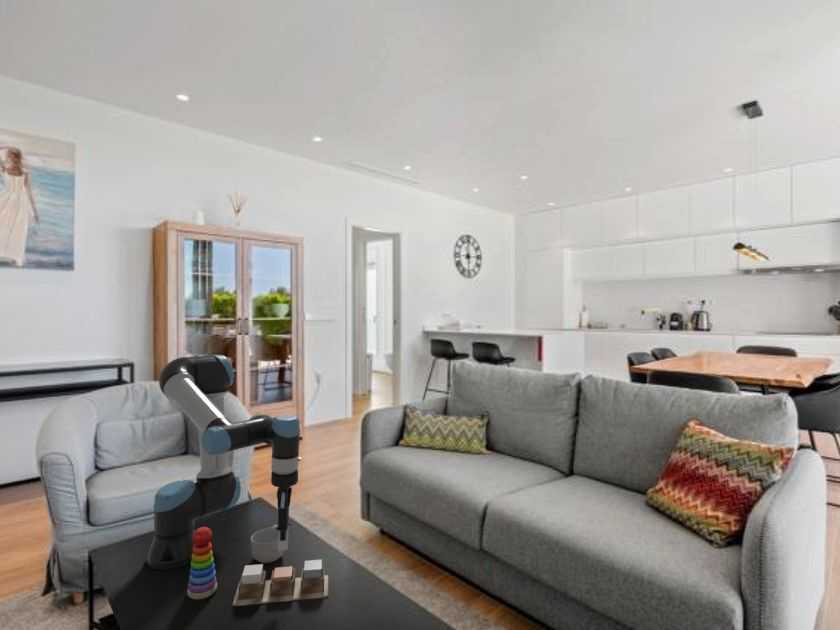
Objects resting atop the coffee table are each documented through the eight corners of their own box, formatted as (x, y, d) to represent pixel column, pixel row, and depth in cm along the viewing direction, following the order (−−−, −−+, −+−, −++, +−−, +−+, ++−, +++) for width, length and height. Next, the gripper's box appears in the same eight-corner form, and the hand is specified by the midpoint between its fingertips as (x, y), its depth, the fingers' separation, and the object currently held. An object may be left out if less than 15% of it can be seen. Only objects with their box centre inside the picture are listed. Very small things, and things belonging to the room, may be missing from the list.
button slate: (303, 583, 137) (304, 570, 137) (304, 573, 142) (304, 560, 142) (321, 582, 138) (321, 568, 138) (321, 572, 143) (321, 559, 143)
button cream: (241, 589, 134) (242, 575, 133) (244, 578, 138) (245, 565, 138) (260, 587, 134) (260, 574, 134) (262, 577, 139) (262, 564, 139)
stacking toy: (223, 586, 140) (224, 523, 139) (205, 603, 132) (206, 537, 131) (199, 581, 141) (200, 520, 140) (180, 598, 133) (181, 533, 133)
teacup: (274, 569, 149) (275, 544, 148) (243, 564, 151) (244, 540, 150) (295, 547, 162) (295, 524, 162) (266, 542, 164) (266, 520, 164)
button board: (232, 606, 131) (232, 590, 131) (239, 584, 141) (239, 569, 140) (328, 597, 136) (328, 581, 136) (328, 576, 146) (328, 562, 146)
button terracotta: (273, 591, 135) (273, 577, 135) (274, 580, 140) (275, 567, 140) (291, 589, 136) (291, 576, 136) (292, 579, 141) (292, 566, 141)
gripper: (297, 478, 131) (294, 560, 132) (299, 461, 144) (297, 536, 145) (268, 479, 130) (266, 562, 131) (273, 461, 142) (271, 538, 144)
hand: (282, 548), depth 138 cm, fingers closed
